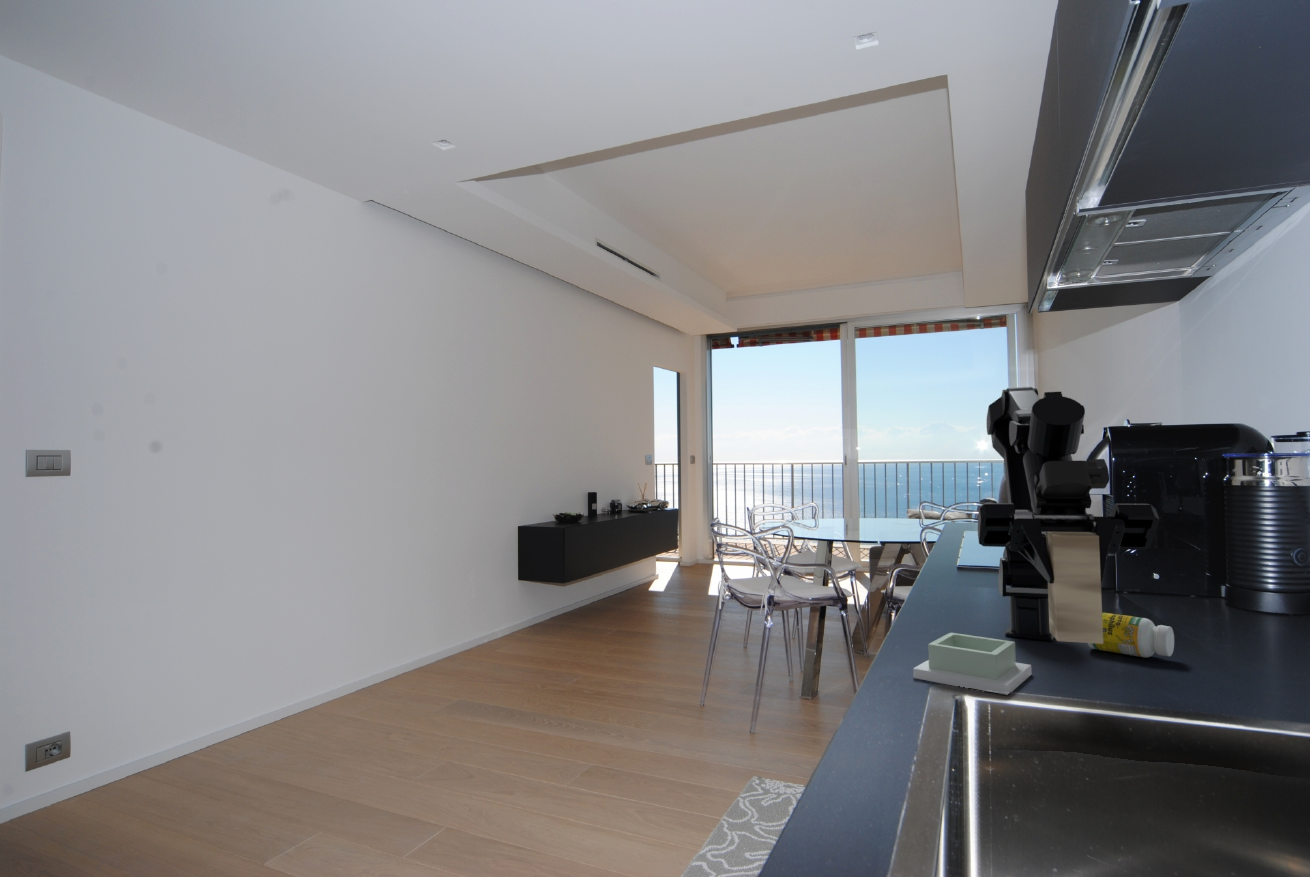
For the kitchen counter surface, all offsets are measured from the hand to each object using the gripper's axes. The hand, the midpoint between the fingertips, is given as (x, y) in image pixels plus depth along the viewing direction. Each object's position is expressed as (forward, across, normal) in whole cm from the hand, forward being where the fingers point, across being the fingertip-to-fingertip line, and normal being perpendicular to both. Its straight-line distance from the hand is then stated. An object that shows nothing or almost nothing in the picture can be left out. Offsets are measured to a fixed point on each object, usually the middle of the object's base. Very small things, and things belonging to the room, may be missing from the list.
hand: (1075, 582), depth 79 cm
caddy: (+5, -11, +14) cm, 18 cm away
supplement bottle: (-11, +7, +27) cm, 30 cm away
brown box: (+4, 0, +6) cm, 7 cm away
